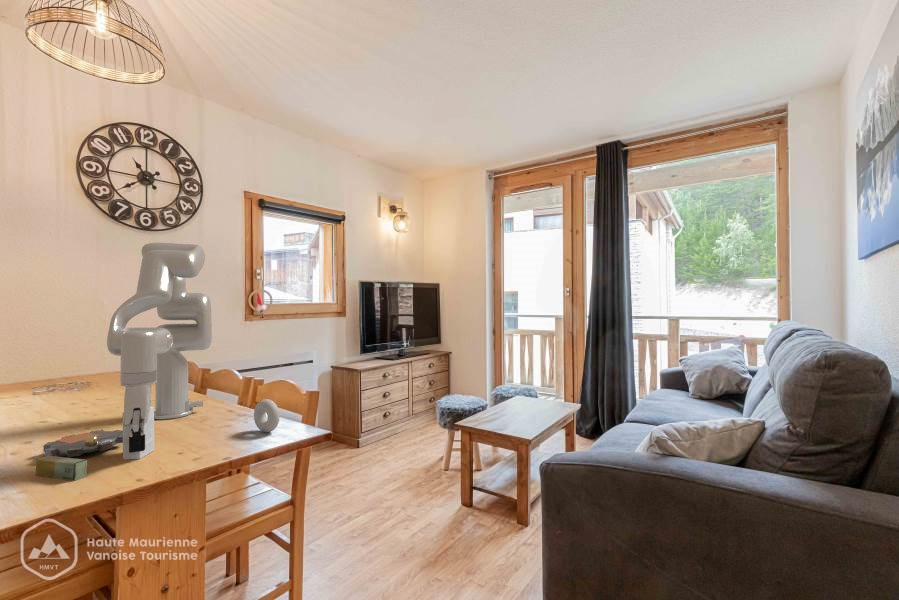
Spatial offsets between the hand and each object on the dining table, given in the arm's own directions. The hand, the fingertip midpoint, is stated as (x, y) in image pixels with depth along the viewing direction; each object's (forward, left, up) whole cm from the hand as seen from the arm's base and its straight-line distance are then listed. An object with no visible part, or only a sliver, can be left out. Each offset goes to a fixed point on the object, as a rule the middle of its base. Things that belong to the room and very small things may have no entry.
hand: (138, 446), depth 107 cm
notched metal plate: (+12, -11, -1) cm, 16 cm away
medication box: (+14, +6, -3) cm, 15 cm away
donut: (-31, -3, -3) cm, 31 cm away
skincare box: (0, 0, -3) cm, 3 cm away
